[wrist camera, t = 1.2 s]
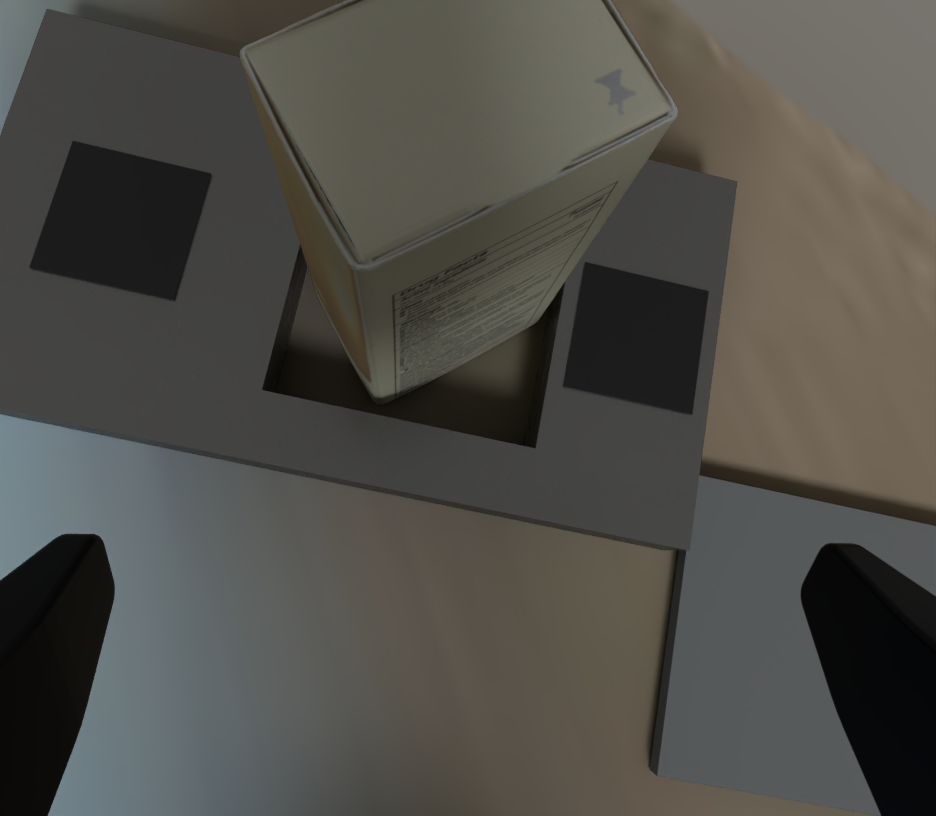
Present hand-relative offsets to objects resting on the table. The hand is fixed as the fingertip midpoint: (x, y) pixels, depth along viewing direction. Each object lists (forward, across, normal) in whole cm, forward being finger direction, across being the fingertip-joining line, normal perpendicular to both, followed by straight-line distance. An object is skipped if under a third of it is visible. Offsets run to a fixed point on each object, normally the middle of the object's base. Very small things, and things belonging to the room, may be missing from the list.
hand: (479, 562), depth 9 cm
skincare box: (+15, 0, +4) cm, 16 cm away
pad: (+7, -12, +11) cm, 18 cm away
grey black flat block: (+15, +2, +4) cm, 16 cm away
